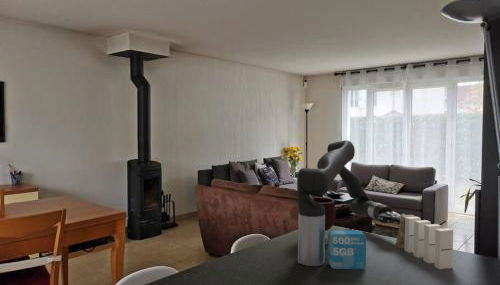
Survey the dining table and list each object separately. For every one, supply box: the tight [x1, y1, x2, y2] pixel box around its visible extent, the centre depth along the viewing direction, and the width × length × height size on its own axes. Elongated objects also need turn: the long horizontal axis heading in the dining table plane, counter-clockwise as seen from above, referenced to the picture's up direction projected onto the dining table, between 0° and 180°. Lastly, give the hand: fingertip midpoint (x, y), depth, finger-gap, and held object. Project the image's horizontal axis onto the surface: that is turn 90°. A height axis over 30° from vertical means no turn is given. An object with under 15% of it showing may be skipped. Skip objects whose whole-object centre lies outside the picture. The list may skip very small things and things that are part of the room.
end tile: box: [434, 227, 454, 270], centre depth 127 cm, size 2×5×13 cm, turn 103°
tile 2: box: [403, 216, 422, 254], centre depth 143 cm, size 2×5×13 cm, turn 103°
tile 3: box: [413, 219, 431, 259], centre depth 138 cm, size 2×5×13 cm, turn 103°
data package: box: [327, 229, 367, 270], centre depth 128 cm, size 12×4×12 cm, turn 88°
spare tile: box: [395, 214, 416, 249], centre depth 147 cm, size 2×5×13 cm, turn 103°
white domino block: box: [423, 223, 442, 264], centre depth 132 cm, size 2×5×13 cm, turn 103°
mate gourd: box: [310, 195, 337, 246], centre depth 157 cm, size 16×14×20 cm
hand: (405, 222), depth 147 cm, fingers closed
